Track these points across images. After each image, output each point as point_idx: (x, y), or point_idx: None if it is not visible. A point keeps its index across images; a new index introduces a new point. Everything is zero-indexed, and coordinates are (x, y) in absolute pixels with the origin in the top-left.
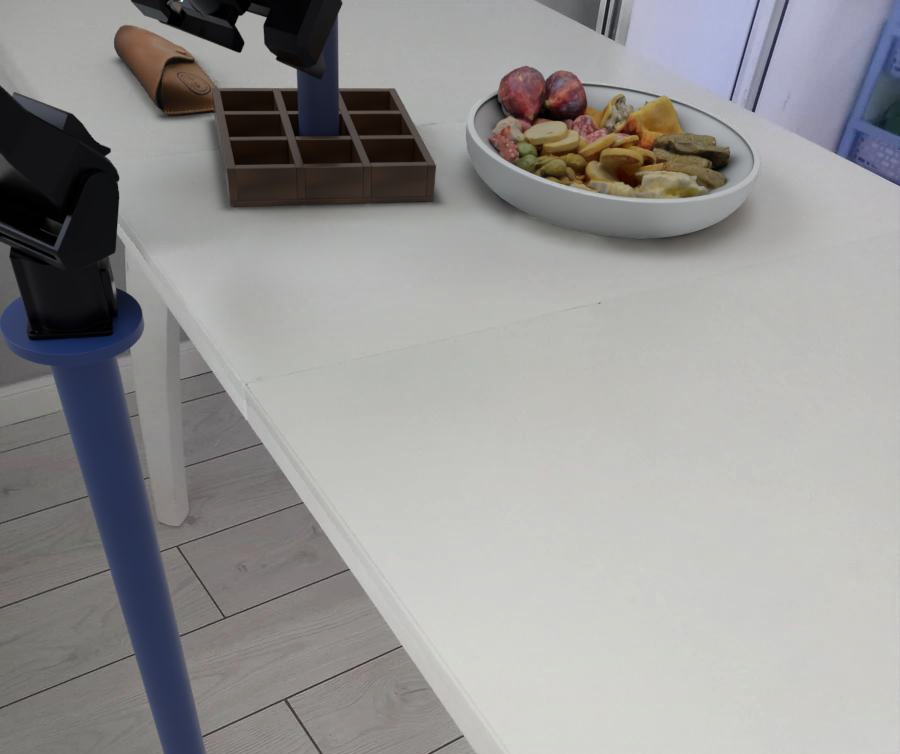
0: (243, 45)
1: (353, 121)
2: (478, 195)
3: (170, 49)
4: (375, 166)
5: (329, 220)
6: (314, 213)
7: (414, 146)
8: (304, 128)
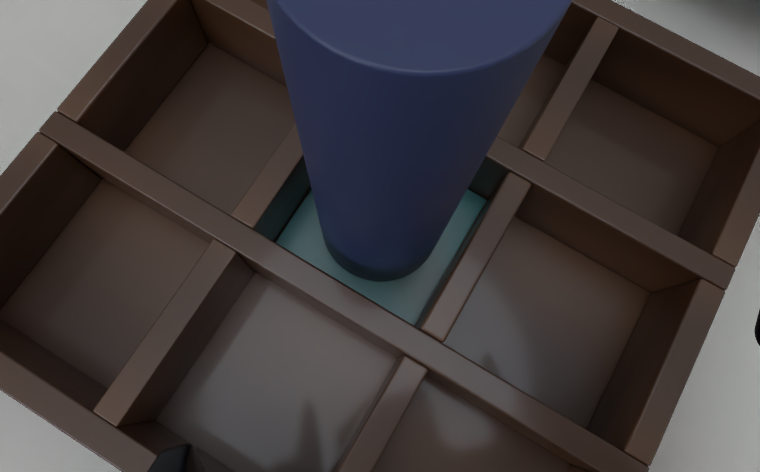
0: (196, 454)
1: None
2: (755, 35)
3: None
4: (739, 256)
5: (707, 456)
6: (651, 465)
7: (620, 44)
8: (391, 263)
